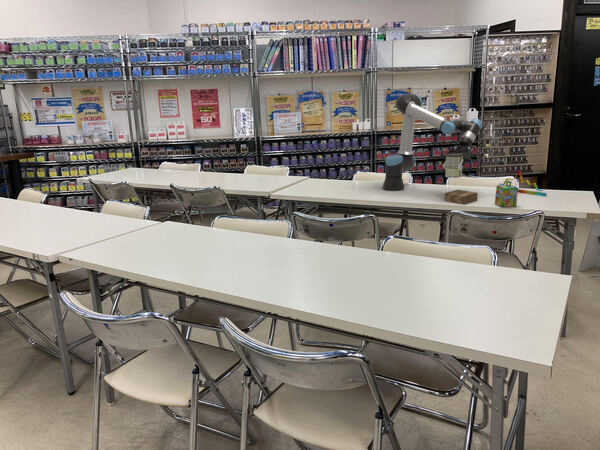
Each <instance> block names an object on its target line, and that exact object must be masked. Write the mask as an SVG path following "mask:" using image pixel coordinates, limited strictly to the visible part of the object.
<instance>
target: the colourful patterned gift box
mask: <svg viewBox="0 0 600 450" xmlns="http://www.w3.org/2000/svg"><path fill="white" fill-rule="evenodd" d="M518 189H519V187H517V186H515V185H512V180H507V182H506V183H505V185H499V184H497V185H496V188H495V197H494V198H495V199H494V204H495V205H497V206H499V207H500V208H510V207H511V208H516V207H517V203H518V194H519V193H518Z"/></svg>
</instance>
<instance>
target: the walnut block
mask: <svg viewBox="0 0 600 450" xmlns="http://www.w3.org/2000/svg"><path fill="white" fill-rule="evenodd" d="M478 195H479V192H475V191H468V190H462V189H455V190H451V191H447V192H444V201H445V202H449V203H453V204H454V203H455V204H461V205H467V204H471V203H474V202H477V201H478Z"/></svg>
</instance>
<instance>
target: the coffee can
mask: <svg viewBox="0 0 600 450" xmlns="http://www.w3.org/2000/svg"><path fill="white" fill-rule="evenodd" d="M445 155H446V159H445V160H446V168H445V169H444V170H445V172H444V174H445V175H444V177H445V178H449V179H457V178H462V177H463V167H462V168H461V170H460V171H459V170H458V166H459V164H460V163H461V161H462V160H464V157H463V153H448V152H447V153H446V154H445Z"/></svg>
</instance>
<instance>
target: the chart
mask: <svg viewBox="0 0 600 450" xmlns="http://www.w3.org/2000/svg"><path fill="white" fill-rule="evenodd" d="M518 176H519V179H520V183H521V184H524V183H525V182H526V183H527V185H528V186H531V185H534V188H535V190H536V191H535V190H527V189H520V188H518V194H525V195H533V196H538V197H539V196H540V197H546V196H547V193H546V192H544V191H546V190H547V188H545V189H539V186H538V185H537V183H536V182H533V183H531V182H530V181H529V180H528V179H526V180H523V174H522V170H521V169H520V170H518V171H517V173H516V175H515V176H514V178H509V177H507V178H506V179H505V180H504V181H503V183H498V185H506V183H507V181H512V180H516V179H517V178H518Z"/></svg>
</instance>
